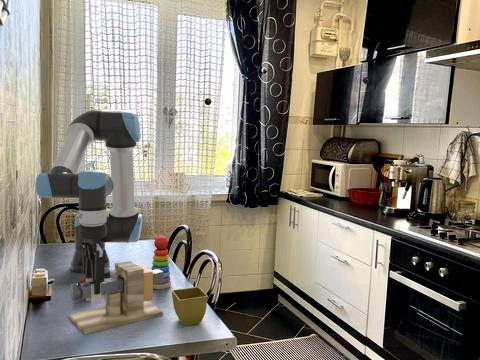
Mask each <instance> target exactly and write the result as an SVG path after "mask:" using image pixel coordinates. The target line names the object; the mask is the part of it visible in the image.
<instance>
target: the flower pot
mask: <svg viewBox="0 0 480 360" xmlns="http://www.w3.org/2000/svg"><path fill="white" fill-rule="evenodd" d="M171 296H172V305H173V309H174V312H175V314H176V316H177V318H178V321H179V322H180V323H181V324H182V326H183V327H184V326H192V325H197V324H198V325H199V324H200V323H201V322H202V320H203V319H204V317H205V315H206V312H207V307H208V306H207V305H208V299H209V296H208V294H207V293H206V292H205V291H204V290H203V289H202V288H201V287H199V286H194V287H187V288H178V289H172V290H171Z"/></svg>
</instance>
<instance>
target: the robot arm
mask: <svg viewBox="0 0 480 360" xmlns="http://www.w3.org/2000/svg"><path fill="white" fill-rule="evenodd" d="M139 121H140V120H139V117H138V115H137V113H136V112H134V111H133V110H125V109H92V110H88V111H85V112H83V113H81V114H80V115H78V116H77V117H75V119H73V120H72V121H71V122H70V124H69V125H68V127H67V129H66V138H65V140H64V142H63V144H62V147H61V148H60V151H59V152H58V154H57V156H56V159H55V160H54V163H53V164H52V167H51V169H50V170H49V172H44V173H43V172H42V173H39V174H37V176H36V179H35V190H36V191H35V192H36V194H37V196H39V197H40V198H49V199H78V213H77V214H76V215H75V217H74V225H73V227H74V252H73V255H72V259H71V262H70V269H71V271H73V272H76V273H82V274H83V275H84V277H85V278H87V279H86V282H90V285H91V298H86V299H85V301H86V302H90V305H91V306H98V305H102V295H101V283H102V282H104V271H105V266H107V267H108V268H109V269H110V266H111V265H110V262H111V261H110V258H109V255H108V253H107V249H106V244H107V243H112V244H113V243H114V244H115V243H116V244H117V243H121V244H122V243H124V244H125V243H127V244H130V243H137V242H139V240H140V238H141V237H140V236H141V233H142V226H143V217H144V215H143V214H141V213H139V209H138V207H136V206H135V205H136V204H135V181H134V180H135V177H134V149H135V148H136V147H137V143H138V142H140V141H141V127H140V122H139ZM94 141H101V142H103V141H104V143H105V148H107V150H109V159H110V160H109V161H110V174H108V173H106V172H105V170H102V169H85V170H84V169H83V170H80V171H79V172H78V170H79V167H80V165H81V163H82V160H83V157H84V156H85V153H86V151H87V149H88V146H89V145H91V144H92V143H93V142H94ZM110 195H111V199H112V200H111V202H112V207H111V208H110V209H109V211H108V213H107V197H108V196H110ZM91 281H92V282H91Z"/></svg>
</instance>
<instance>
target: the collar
mask: <svg viewBox="0 0 480 360" xmlns="http://www.w3.org/2000/svg"><path fill="white" fill-rule="evenodd" d="M137 265H138V266H139V267H141V268H143V269H144V302H145V301H148V302H150V301H153V300H154V299H153V297H154V296H153V293H154V289H153V271H151V270H152V269H149V268H147V267H146V266H144V265H142V264H141V263H140V264H139V263H138V264H137Z"/></svg>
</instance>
